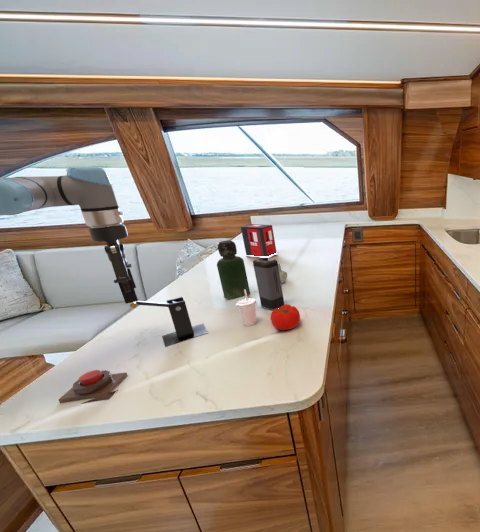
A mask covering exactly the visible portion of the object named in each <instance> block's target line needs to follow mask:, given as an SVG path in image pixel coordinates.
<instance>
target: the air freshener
mask: <svg viewBox="0 0 480 532" xmlns="http://www.w3.org/2000/svg"><path fill="white" fill-rule="evenodd" d="M277 262H278V268H279V274H280V280H281V284H283V283H284V282H286V280H287V279H288V272H287V271H285V270H283V269H282V265H281V262H279V261H277ZM282 282H283V283H282Z"/></svg>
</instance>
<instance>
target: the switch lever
mask: <svg viewBox="0 0 480 532" xmlns="http://www.w3.org/2000/svg"><path fill="white" fill-rule="evenodd" d="M176 302H179V301H172V303H176ZM172 303H167V302H160V301H158V302H157V301H148V300H145V301H144V300H138V301H135V302H131V303H129V307H130V308H131V309H135V308H137V307H138V306H148V307H160V308H161V307H163V308H168V304H172Z"/></svg>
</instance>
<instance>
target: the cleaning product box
mask: <svg viewBox="0 0 480 532" xmlns="http://www.w3.org/2000/svg"><path fill="white" fill-rule="evenodd" d="M273 228H274V227H273V225H272V224H254V223H251V224H246V225H242V226H240V230H241V235H242V239H243V244H244V250H245V256H246V255H254V256H269V255H271V254H274V253H276V252H277V246H276V240H275V234H274V229H273Z"/></svg>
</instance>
